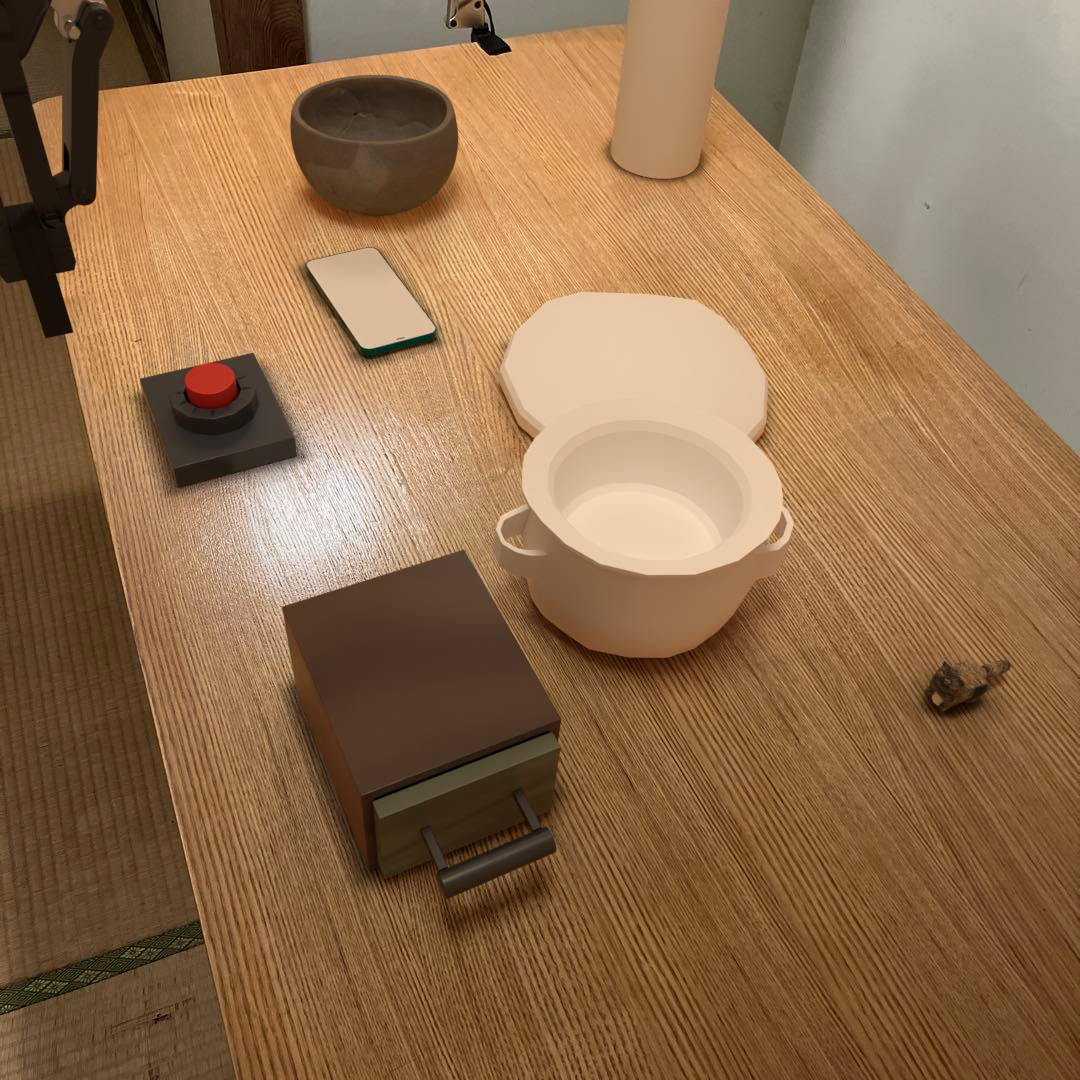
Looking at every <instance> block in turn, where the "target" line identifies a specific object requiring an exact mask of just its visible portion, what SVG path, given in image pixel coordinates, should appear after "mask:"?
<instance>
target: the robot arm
mask: <svg viewBox="0 0 1080 1080" xmlns="http://www.w3.org/2000/svg"><path fill="white" fill-rule="evenodd" d="M50 7H51V8H52V9H53V10H54V14H53V15H54V16H53V21H54V24H55V26H56V28H57V30H58V32H59V34H60V35H61V36H62V43H61V44H62V45H61V171H60V172H58V173H56V174H54V175H53V173H52V168H51V165H50V162H49V158H48V156H47V152H46V147H45V145H44V141H43V137H42V134H41V131H40V127H39V123H38V120H37V117H36V116H37V115H36V112H35V110H34V105H33V102H32V99H31V95H30V89H29V87H28V83H27V79H26V75H25V73H24V69H23V64H22V62H23V60H24V59H26V57H27V56H28V55H29V54H30V51H31V48H32V46H33V45H34V42H35V40H36V37H37V35H38V33H39V31H40V29H41V27H42V24H43V22H44V20H45V18H46V16H47V13H48V11H49V9H50ZM114 27H115V21H114V17H113V15H112V13H111V11H110V9H109V7H108V5H107V4H106V2H105V0H0V100H1V103H2V104H1V105H2V107H3V110H4V114H5V117H6V119H7V123H8V126H9V130H10V133H11V136H12V139H13V142H14V146H15V149H16V153H17V156H18V159H19V163H20V166H21V170H22V173H23V175H24V179H25V182H26V185H27V188H28V192H29V194H30V195H29V196H30V197H31V198H30V199H31V201H29V202H23V203H17V204H10V205H6V206H5V205H4V203H3V199H2V196H1V195H0V278H1V279H2V280H3V282H5V283H6V284H12V283H16V282H22V281H23V282H24V281H26V283H27V286H28V290H29V292H30V295H31V299H32V301H33V304H34V308H35V311H36V314H37V317H38V320H39V323H40V327H41V330H42V333H43V335H44V338H45V339H50V338H55V337H60V336H64V335H69V334H74V328H73V325H72V323H71V319H70V315H69V313H68V308H67V305H66V302H65V299H64V296H63V293H62V289H61V285H60V282H59V279H58V275H57V274H62V273H69V272H73V271H75V270H76V266H77V265H76V264H77V260H76V256H75V253H74V248H73V245H72V241H71V238H70V235H69V234H70V233H69V232H68V228H67V224H66V217H67V214H68V212H69V211H70V210H72V209H73V208H75V207H77V206H82V207H87V206H90V205H92V204H93V203H94V202H95V201H96V199H97V186H98V185H97V183H98V180H97V179H98V141H99V140H98V139H99V97H100V95H99V94H100V61H101V58H102V56H103V54H104V51H105V49H106V46H107V44H108V43H109V40H110V38H111V35H112V33H113V30H114Z"/></svg>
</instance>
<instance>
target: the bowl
mask: <svg viewBox="0 0 1080 1080" xmlns="http://www.w3.org/2000/svg"><path fill="white" fill-rule="evenodd" d="M455 111H456V110H455V108H454V106H453V103H452V100H451V99H450V98H449V97H448V95H447V94H446V93H444V92H443V91H442V90H441V89H439V88H438V87H437V86H435V85H433V84H431V83H428V82H425V81H422V80H419V79H416V78H415V79H414V78H410V77H403V76H398V75H390V74H360V75H349V76H343V77H338V78H332V79H330V80H326V81H323V82H320V83H318V84H316V85H315V84H314V85H313V86H311V87H309V88H307V89H306V90H304V91H302V92H301V93H300V94H299V95H298V96H297V97H296V99H295V100H294V102H293V105H292V108H291V113H290V123H289V124H290V125H289V127H290V141H291V144H292V145H291V146H292V151H293V153H294V158H295V161H296V163H297V165H298V167H299V169H300V171H301V173H302V175H303V176H304V178H305V180H306V181H307V183H308V184H309V185H310V187H311V188H312V190H313V191H314V193H315V194H316V195H317V196H318V197H319V198H321V199H322V200H324V201H326V202H327V203H328V204H330V205H332V206H333V207H335V208H337V209H340V210H341V211H345V212H348V213H352V214H355V215H358V216H364V217H365V216H366V217H371V218H373V217H375V218H380V217H381V218H382V217H392V216H397V215H401V214H405V213H407V212H410V211H412V210H414V209H417V208H419V207H421V206H423V205H424V204H426V203H428V202H429V201H430V200H432V199H433V198H434V197H435V196H436V195H437V194H438V193H439V192H440V191H441V190H442V189H443V187H444V186H445V184H447V182H448V181H449V179H450V176H451V175H452V172H453V170H454V167H455V164H456V161H457V156H458V149H459V128H458V122H457V116H456V112H455Z"/></svg>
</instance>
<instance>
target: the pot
mask: <svg viewBox="0 0 1080 1080" xmlns="http://www.w3.org/2000/svg"><path fill="white" fill-rule="evenodd" d="M521 494H522V496H523V499H524V501H525V502H526V503H524V504H522V505H520V506H517V507H516V508H514V509H512V510H509V511H508V512H506V513H504V514H502V515H501V516H500V518H499V519H498V522H497V525H496V527H495V531H494V532H495V533H494V539H493V540H494V541H493V548H492V552H493V554H494V557H495V559H496V561H497V564H498V566H499V567H500V568H502V569H504V570H505V571H506V572H508V573H510V574H512V575H513V576H518V577H522V578H525V579H526V584H527V587H528V592H529V595H530V598H531V600H532V602H533V603H534V605H535V606H536V608H537V609H538V611H539V612H540V614H541V616H543V617H544V618H545V619H547V621H549V622H550V623H551V624H552V625H554V626H555V627H557V628H558V629H559V630H561V632H563V633H564V634H566V635H567V636H568V637H570V638H572V639H573V640H574V641H576V642H577V643H579V644H580V645H582V646H583V647H585V648H586V649H588V650H591V651H595V652H601V653H606V654H610V655H615V656H619V657H625V658H638V659H639V658H641V659H642V658H645V659H646V658H648V659H650V658H654V659H657V658H659V659H668V658H670V657H671V658H672V657H673V656H676V655H679V654H682V653H686V652H689V651H691V650H693V649H695V648H697V647H698V646H699V645H700V644H703V642H705V641H706V640H708V639H709V638H711V637H712V636H713V635H715V634H716V633H718V632H719V631H720V630H721V629H722V628H723V626H724V625H725V624H726V623H727V622H728V621H730V619H731V618H732V617H733V616H734V614H735V613H736V611H737V610H738V608H739V607H740V606H741V604H742V602H743V601H744V599H746V596H747V595H748V593H749V592H750V590H751V588H752V587H753V586H754V584H755V583H756V581H757V580H761V579H764V578H768V577H770V576H771V577H772V576H774V575H775V574H776V573H777V572H778V570H779V569H780V568H781V567H782V566H783V565H784V563H785V560H786V558H787V554H788V550H789V549H790V548H789V547H790V544H791V540H792V535H793V531H794V525H795V523H794V520H793V518H792V515H791V514H790V511H789V509H788V508H787V507H785V506H784V504H783V503H784V496H783V487H782V481H781V478H780V477H779V475H778V472H777V470H776V468H775V466H774V464H773V463H772V462H771V459H769V458H768V456H767V455H766V454H765V453H764V451H763V450H762V449H761V448H760V447H759V446H758V445H757V444H756V442H755V443H754V442H753V441H752V440H751V439H750V438H749V437H748V436H747V435H746V434H744V433H743V432H741V431H740V430H738V429H737V428H735V427H734V426H733V425H731V424H730V423H728V422H727V421H725V420H723V419H721V418H719V417H717V416H714V415H712V414H710V413H708V412H706V411H703V410H699V409H696V408H693V407H689V406H686V405H682V404H679V403H675V402H671V401H664V400H657V399H650V398H623V399H608V400H604V401H599V402H595V403H591V404H587V405H583V406H580V407H578V408H576V409H574V410H572V411H570V412H568V413H566V414H564V415H562V416H560V417H558V418H556V419H554V420H553V421H552V422H551V423H550V424H549V425H548V426H547V427H546V428H545V429H544V430H543V431H542V432H541V433H540V434H538V435H537V436H536V437H535V439H534V438H533V440H532V442H531V444H530V446H529V447H528V449H527V450H526V452H525V453H524V455H523V461H522V469H521ZM773 533H774V534H776V535H777V536H778V540H777V541H775V542H772V543H767V542H768V541H769V540H770V538H771V537H772V535H773ZM519 535H522V548H520V547H515V546H514V545H512V544H511V543H509V542H508V541H506V540H507V539H509V538H512V537H516V536H519Z"/></svg>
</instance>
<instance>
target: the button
mask: <svg viewBox="0 0 1080 1080" xmlns="http://www.w3.org/2000/svg"><path fill="white" fill-rule="evenodd" d="M201 364H202V365H201ZM201 364H198V365H199V366H197V365H195V366H196V367H194V368H193V369H191V370H190V371H189V372H188V373H187V375H186V377H185V385H186V390H187V394H188V398H189V401H190V402H191V403H192V404H193V405H194V406H196V407H198V408H203V409H217V408H221V407H225V406H227V405H229V404H230V403H232V402H233V401H234V400H235V399H236V397H237V386H236V380H235V375H234V372H233V371H232V370H231V369H230V368H229V367H228V366H226V365H223V364H219V363H210V362H206V363H201Z"/></svg>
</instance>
